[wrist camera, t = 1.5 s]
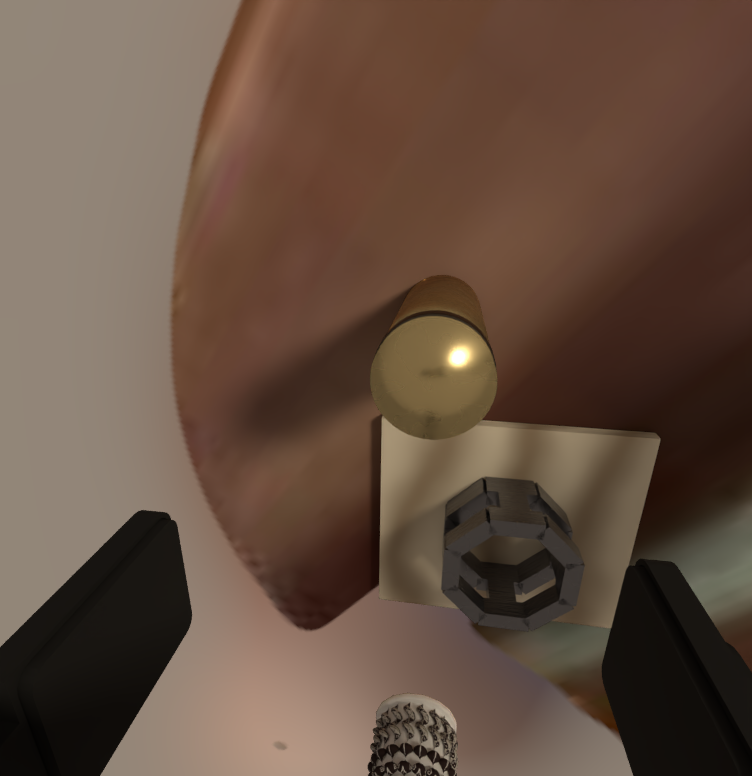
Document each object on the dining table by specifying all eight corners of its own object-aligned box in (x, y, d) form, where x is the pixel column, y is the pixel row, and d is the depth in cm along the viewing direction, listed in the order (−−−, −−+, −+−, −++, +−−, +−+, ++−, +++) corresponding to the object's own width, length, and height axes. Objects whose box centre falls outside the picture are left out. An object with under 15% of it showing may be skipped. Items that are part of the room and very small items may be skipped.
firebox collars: (572, 484, 36) (592, 530, 31) (554, 581, 39) (569, 637, 34) (447, 473, 37) (446, 515, 32) (440, 568, 41) (438, 619, 36)
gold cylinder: (485, 275, 33) (505, 323, 20) (477, 355, 35) (491, 445, 22) (402, 272, 33) (369, 317, 20) (400, 351, 35) (368, 435, 22)
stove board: (655, 432, 35) (660, 439, 34) (608, 619, 41) (612, 628, 40) (383, 413, 37) (381, 418, 36) (380, 590, 44) (378, 598, 43)
